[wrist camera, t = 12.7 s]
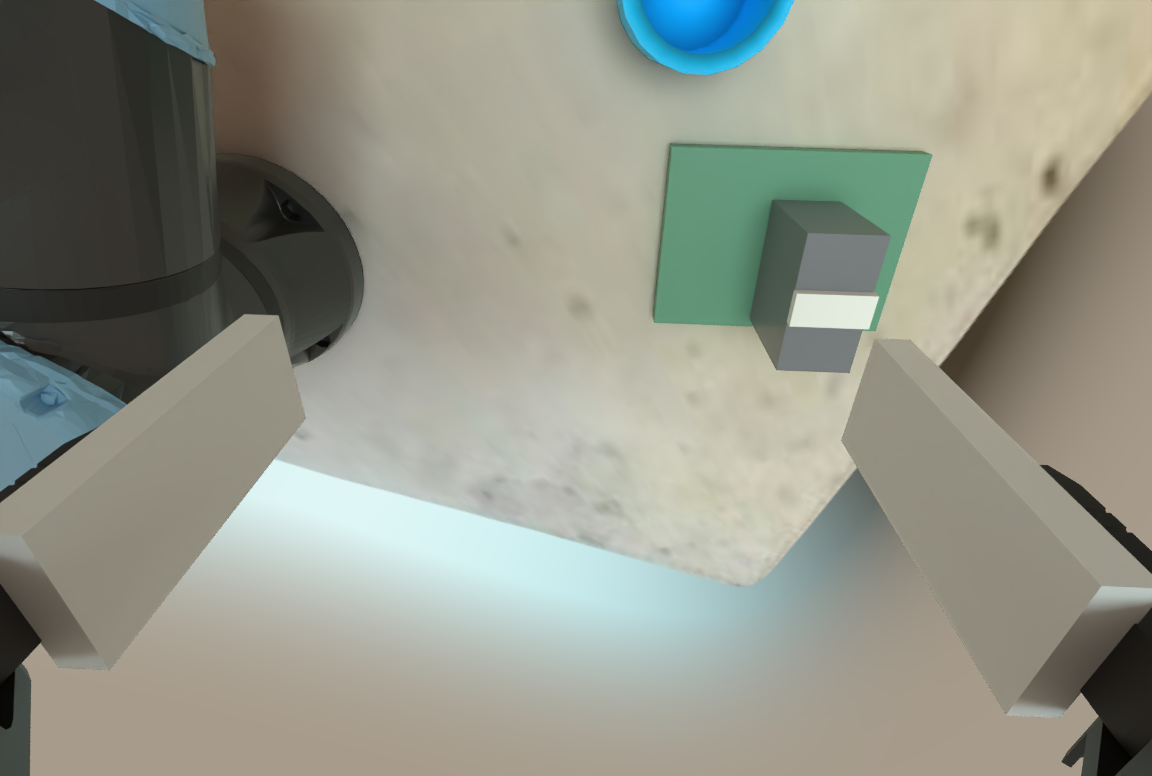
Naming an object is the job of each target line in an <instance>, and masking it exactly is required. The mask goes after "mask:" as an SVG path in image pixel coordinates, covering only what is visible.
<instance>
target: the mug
mask: <svg viewBox="0 0 1152 776" xmlns="http://www.w3.org/2000/svg"><path fill="white" fill-rule="evenodd" d="M793 2H794V0H617V4H618V9H619V14H620V19H621V23H622V25H623V27H624V28H625V30H626V32H627V34H628V36H629V38H630V40H631V42H632V43H633V44H634V45H635V46H636V47H637V48H638V49H639V50H640V51H641V52H642V53H643V54H644V55H645V56H646V57H647V58H648V59H651V60H653V61H655V62H658V63H660V64H662V65H664V66H667V67H669V68H672V69H674V70H676V71H679V72H681V73H684V74H702V75H712V74H715V73H718V72H722V71H725V70H728V69H731V68H735V67H738V66H739V65H740V64H742V63H743V62H745V61H746V60H748V59H749V58H751V57H752V56H753V55H755V54H756V53H758V52H759V51H761V50H762V49H763V48H764V47H765V45H766V44H767V43H768V42H769V41H770V39H771V38H772V37H773V36H774V35H775V33H776V32H777V31H778V30H779V29H780V27H781V26H782V25H783V23H784V21H785V19H786V17H787V15H788V13H789V11H790V8H791V6H792V4H793Z"/></svg>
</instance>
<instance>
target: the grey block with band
mask: <svg viewBox="0 0 1152 776" xmlns="http://www.w3.org/2000/svg"><path fill="white" fill-rule="evenodd" d="M890 239H891V235H889V234H888V233H886V232H885V231H883V230H882V229H881V228H879V227H878V226H876V225H875V224H873V223H872V222H870V221H869V220H867V219H866V218H864V217H863V216H861V215H860V214H859V213H857V212H856V211H854V210H853V209H851V208H850V207H848V206H847V205H845V204H844V203H842V202H836V201H804V200H772V204H771V210H770V215H769V220H768V225H767V230H766V236H765V241H764V246H763V251H762V256H761V261H760V267H759V272H758V277H757V282H756V287H755V293H754V298H753V303H752V308H751V313H750V321H751V322H752V324H753V326H754V328H755V330H756V332H757V334H758V336H759V338H760V340H761V342H762V344H763V345H764V347H765V349H766V351H767V353H768V355H769V357H770V359H771V361H772V363H773V365H774V366H775V368H776V370H786V371H812V372H838V373H849V372H850V369H851V366H852V363H853V359H854V356H855V353H856V350H857V346H858V343H859V340H860V336H861V333H862V330H863V329H869V328H870V325H871V321H872V318H873V315H874V312H875V309H876V305H877V302H878V299H879V296H878V295H877V294H876V293H875V292H874V291H875V288H876V284H877V281H878V278H879V275H880V271H881V268H882V265H883V262H884V258H885V255H886V252H887V248H888V245H889V242H890Z"/></svg>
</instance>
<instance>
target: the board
mask: <svg viewBox="0 0 1152 776" xmlns="http://www.w3.org/2000/svg"><path fill="white" fill-rule="evenodd" d="M931 158H932V154H929V153H926V152H922V151H890V150H858V149H826V148H794V147H761V146H729V145H697V144H670V152H669V161H668V171H667V181H666V191H665V201H664V211H663V221H662V231H661V241H660V251H659V261H658V271H657V281H656V291H655V301H654V311H653V319H654V323H678V324H703V325H729V326H753V324H752V322H751V321H750V313H751V308H752V303H753V298H754V293H755V287H756V282H757V277H758V272H759V267H760V261H761V256H762V251H763V246H764V241H765V236H766V230H767V225H768V220H769V215H770V210H771V204H772V200H804V201H836V202H842V203H844V204H845V205H847V206H848V207H850V208H851V209H853V210H854V211H856V212H857V213H859V214H860V215H861V216H863V217H864V218H866V219H867V220H869V221H870V222H872V223H873V224H875V225H876V226H878V227H879V228H881V229H882V230H883V231H885V232H886V233H888V234H889V235H891V239H890V242H889V245H888V248H887V252H886V255H885V258H884V262H883V265H882V268H881V271H880V275H879V278H878V281H877V284H876V288H875V291H874V292H875V293H876V294H877V295H878V296H879V299H878V302H877V305H876V309H875V312H874V315H873V318H872V321H871V325H870V328H869V329H863V330H862V331H876V328H877V325H878V322H879V319H880V316H881V312H882V309H883V306H884V303H885V300H886V297H887V294H888V291H889V288H890V285H891V281H892V278H893V275H894V272H895V269H896V266H897V263H898V260H899V257H900V254H901V250H902V247H903V244H904V241H905V238H906V235H907V232H908V229H909V226H910V223H911V220H912V216H913V213H914V210H915V207H916V204H917V201H918V198H919V195H920V192H921V189H922V185H923V182H924V179H925V176H926V173H927V170H928V167H929V164H930V161H931Z"/></svg>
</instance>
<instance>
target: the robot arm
mask: <svg viewBox="0 0 1152 776" xmlns="http://www.w3.org/2000/svg"><path fill="white" fill-rule="evenodd" d="M215 64H216V60H215V56H214V53H213V52H212V51H211V50H210V49H209V42H208V35H207V27H206V20H205V12H204V2H203V0H0V776H30V713H31V712H30V711H31V680H30V677H29V674H28V671H27V669H26V668H25V667H24V666H23V664H22V662H23V661H24V660H25V659H26V658H27V657H28V656H29V654H30V653H31V652H32V651H33V650H34V649H35V648H36V647H37V646H38V645H39V644H40V643H41V644H42V645H43V647H44V648H45V649H46V651H47V652H48V653H49V655H50V656H51V658H52V659H53V660H54V662H55V663H56V664H57V666H58V667H59V668H72V669H92V670H110V669H111V668H112V667H113V666H114V664H115V663H116V662H117V660H118V659H119V658H120V657H121V655H122V654H123V653H124V651H125V650H126V649H127V648H128V646H129V645H130V644H131V642H132V641H133V640H134V639H135V637H136V636H137V635H138V633H139V632H140V631H141V630H142V628H143V627H144V626H145V624H146V623H147V622H148V621H149V619H150V618H151V617H152V615H153V614H154V613H155V612H156V610H157V609H158V608H159V606H160V605H161V604H162V602H163V601H164V600H165V598H166V597H167V596H168V595H169V593H170V592H171V591H172V590H173V588H174V587H175V586H176V585H177V583H178V582H179V581H180V579H181V578H182V577H183V575H184V574H185V573H186V572H187V570H188V569H189V568H190V566H191V565H192V564H193V563H194V561H195V560H196V559H197V557H198V556H199V555H200V554H201V552H202V551H203V550H204V548H205V547H206V546H207V545H208V543H209V542H210V541H211V539H212V538H213V537H214V536H215V534H216V533H217V531H218V530H219V529H220V528H221V527H222V525H223V524H224V523H225V521H226V520H227V519H228V518H229V516H230V515H231V513H232V512H233V511H234V510H235V509H236V507H237V506H238V505H239V503H240V502H241V501H242V500H243V498H244V497H245V496H246V494H247V493H248V492H249V491H250V489H251V488H252V487H253V485H254V484H255V483H256V482H257V480H258V479H259V478H260V476H261V475H262V474H263V473H264V471H265V470H266V468H267V467H268V466H269V465H270V463H271V462H272V461H273V460H274V458H275V457H276V456H277V455H278V453H279V452H280V451H281V449H282V448H283V447H284V446H285V444H286V443H287V442H288V440H289V439H290V438H291V437H292V435H293V434H294V433H295V431H296V430H297V429H298V428H299V426H300V425H301V424H302V422H303V421H304V420H305V419H306V417H305V414H304V410H303V406H302V402H301V399H300V395H299V391H298V387H297V383H296V380H295V376H294V372H293V367H296V366H298V365H301V364H304V363H307V362H310V361H312V360H314V359H316V358H318V357H319V356H321V355H322V354H324V353H325V352H327V351H328V350H329V349H330V348H332V347H333V346H334V345H335V344H336V343H337V342H338V340H339V339H340V338H341V337H342V336H343V335H344V334H345V333H346V332H347V330H348V329H349V328H350V326H351V325H352V323H353V322H354V320H355V318H356V316H357V314H358V311H359V309H360V305H361V301H362V295H363V273H362V266H361V262H360V258H359V255H358V251H357V249H356V246H355V244H354V241H353V239H352V237H351V235H350V233H349V231H348V229H347V228H346V226H345V224H344V223H343V221H342V220H341V218H340V217H339V215H338V214H337V213H336V212H335V210H334V209H333V208H332V207H331V205H330V204H329V203H328V202H327V201H326V200H325V199H324V198H323V197H322V196H321V195H320V194H319V193H318V192H317V191H316V190H314V189H313V188H312V187H311V186H310V185H308V184H307V183H306V182H304V181H303V180H302V179H300V178H299V177H297V176H296V175H294V174H292V173H291V172H289V171H287V170H285V169H283V168H281V167H279V166H277V165H275V164H272V163H270V162H267V161H264V160H261V159H258V158H254V157H250V156H244V155H237V154H217V155H215V134H214V112H213V91H212V69H211V66H213V67H215ZM841 441H842V443H843V444H844V446H845V448H846V449H847V451H848V453H849V454H850V456H851V458H852V459H853V461H854V463H855V464H856V466H857V468H858V469H859V471H860V472H861V474H862V475H863V478H864V479H865V481H866V482H867V484H868V486H869V488H870V489H871V491H872V492H873V494H874V496H875V497H876V499H877V501H878V502H879V504H880V506H881V508H882V509H883V511H884V513H885V514H886V516H887V517H888V519H889V521H890V522H891V524H892V526H893V528H894V529H895V531H896V532H897V534H898V536H899V538H900V539H901V541H902V543H903V544H904V546H905V548H906V549H907V551H908V553H909V554H910V556H911V557H912V559H913V560H914V562H915V564H916V566H917V567H918V569H919V571H920V572H921V574H922V576H923V578H924V579H925V581H926V582H927V584H928V586H929V587H930V589H931V591H932V593H933V594H934V596H935V597H936V599H937V601H938V603H939V604H940V606H941V608H942V609H943V611H944V613H945V614H946V616H947V617H948V619H949V621H950V623H951V624H952V626H953V627H954V629H955V631H956V633H957V634H958V636H959V638H960V639H961V641H962V643H963V644H964V646H965V647H966V649H967V651H968V652H969V654H970V656H971V658H972V659H973V661H974V663H975V664H976V666H977V667H978V669H979V671H980V672H981V674H982V676H983V678H984V679H985V681H986V683H987V684H988V686H989V688H990V689H991V691H992V692H993V694H994V696H995V698H996V699H997V701H998V702H999V704H1000V706H1001V707H1002V709H1003V711H1004V713H1005V714H1006V715H1012V716H1032V717H1052V718H1060V717H1061V716H1062V715H1063V714H1064V712H1065V711H1066V710H1067V709H1068V708H1069V706H1070V705H1071V704H1072V703H1073V702H1074V700H1075V699H1076V698H1077V697H1078V696H1079V694H1080V693H1082V694H1083V695H1084V697H1085V698H1086V699H1087V701H1088V702H1089V703H1090V705H1091V706H1092V708H1093V709H1094V710H1095V712H1096V713H1097V714H1098V715H1099V717H1098V718H1097V719H1096V720H1095V721H1094V722H1093V724H1092V725H1091V726H1090V727H1089V728H1088V729H1087V730H1086V732H1084V734H1083V735H1082V736H1081V737H1080V738H1079V739H1078V740H1077V742H1076V743H1075V744H1074V745H1073V746H1072V747H1071V748H1070V749H1069V751H1068V752H1067V753H1066V755H1065V757H1064V758H1063V760H1062V762H1063V763H1064V764H1066V765H1067V766H1069V767H1072V765H1074V764H1075V763H1076V761H1077V760H1078V759H1079V758H1081V757H1084V759H1083V767H1082V774H1081V776H1152V551H1151V550H1150V549H1149V548H1148V547H1147V546H1146V545H1145V544H1143V543H1142V542H1141V541H1140V540H1139V539H1138V538H1137V537H1136V536H1135V535H1134V534H1133V533H1127V531H1126V527H1125V526H1124V525H1123V524H1122V523H1121V522H1120V521H1119V520H1118V519H1117V518H1116V517H1114V516H1113V515H1112V514H1111V513H1106V511H1105V507H1104V506H1103V505H1102V504H1100V503H1099V502H1098V501H1097V500H1096V499H1095V498H1094V497H1093V496H1092V495H1091V494H1090V493H1089V492H1088V491H1086V490H1085V489H1084V488H1083V487H1082V486H1081V485H1079V484H1078V483H1076V482H1075V481H1073V480H1071V479H1070V478H1068V477H1066V476H1065V475H1063V474H1061V473H1060V472H1058V471H1056V470H1055V469H1053V468H1051V467H1050V466H1048V465H1039V464H1038V463H1037V462H1035V460H1034V459H1033V458H1031V457H1030V456H1029V455H1028V454H1027V453H1026V452H1025V451H1024V450H1023V449H1022V448H1021V447H1020V446H1019V445H1018V444H1017V443H1016V442H1015V441H1014V440H1013V439H1012V438H1011V437H1010V436H1009V435H1008V434H1007V433H1006V432H1005V431H1003V429H1002V428H1001V427H1000V426H999V425H997V424H996V423H995V422H994V421H993V420H992V419H991V418H990V417H989V416H988V415H987V414H986V413H985V412H984V411H983V410H982V409H981V408H980V407H979V406H978V405H977V404H976V403H975V402H974V401H973V400H972V399H971V398H970V397H969V396H968V395H966V393H965V392H963V391H962V390H961V389H960V388H959V387H958V386H957V385H956V384H955V383H954V382H953V381H952V380H951V379H950V378H949V377H948V376H947V375H946V374H945V373H944V372H943V371H942V370H941V369H940V368H939V367H938V366H937V365H936V364H935V363H934V362H933V361H932V360H931V359H930V358H928V357H927V356H926V355H925V354H924V353H923V352H922V351H921V350H920V349H919V348H918V347H917V346H916V345H915V344H914V343H913V342H912V341H911V340H901V339H875V340H874V343H873V346H872V349H871V352H870V355H869V358H868V361H867V364H866V367H865V370H864V373H863V376H862V379H861V382H860V385H859V388H858V391H857V394H856V397H855V401H854V404H853V407H852V410H851V413H850V416H849V419H848V422H847V425H846V428H845V431H844V434H843V437H842V440H841Z"/></svg>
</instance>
